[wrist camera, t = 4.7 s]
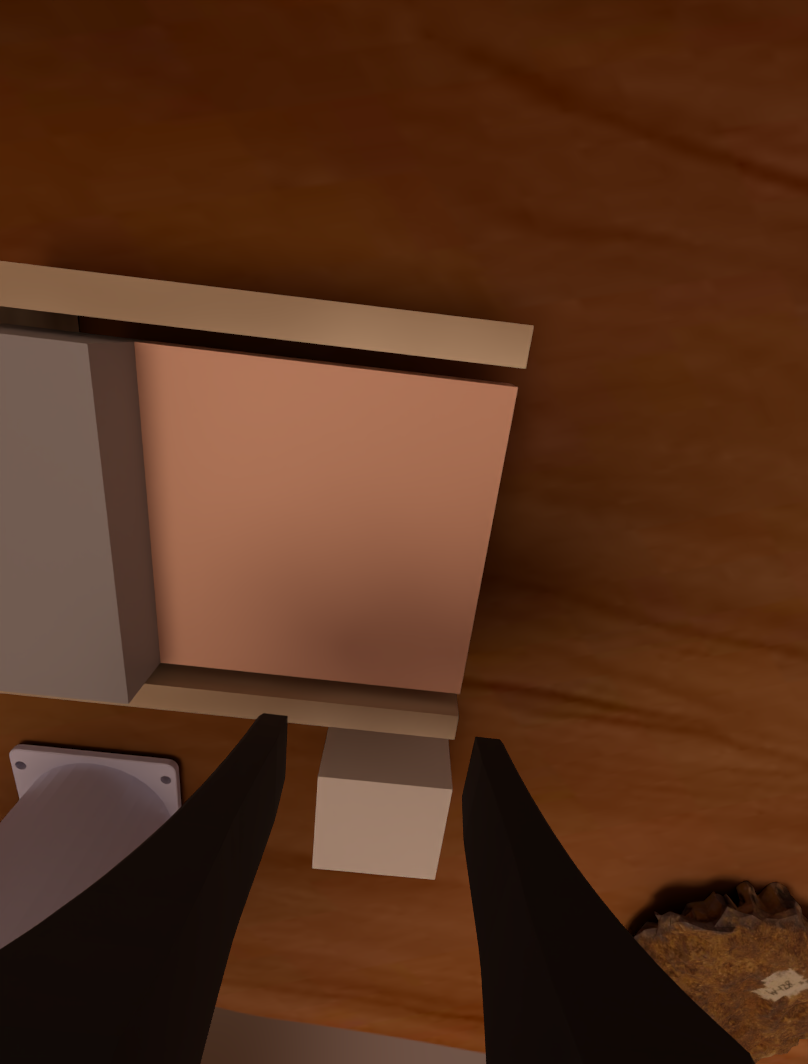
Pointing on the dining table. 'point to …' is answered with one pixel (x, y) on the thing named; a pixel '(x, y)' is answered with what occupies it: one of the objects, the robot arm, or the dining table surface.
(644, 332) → the dining table surface
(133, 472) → the trapdoor
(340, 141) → the dining table surface
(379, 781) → the beige cube
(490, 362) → the frame
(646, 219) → the dining table surface
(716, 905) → the decorative rock
